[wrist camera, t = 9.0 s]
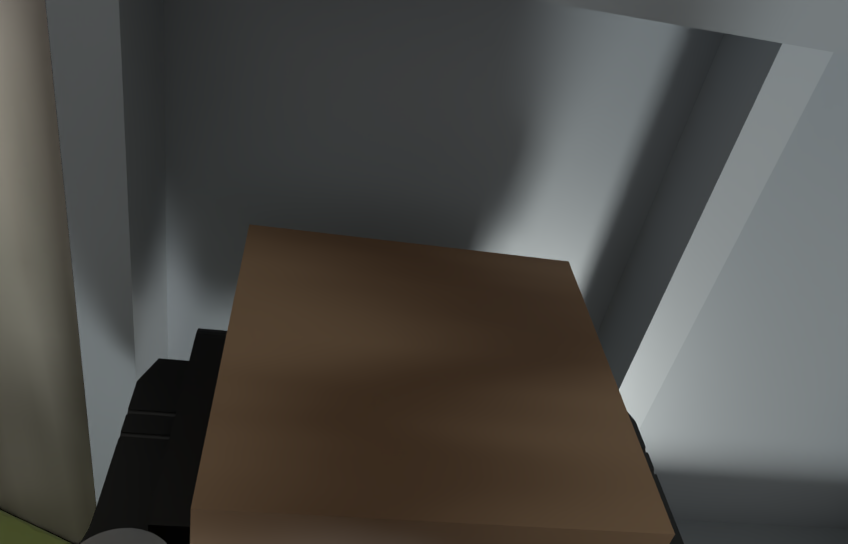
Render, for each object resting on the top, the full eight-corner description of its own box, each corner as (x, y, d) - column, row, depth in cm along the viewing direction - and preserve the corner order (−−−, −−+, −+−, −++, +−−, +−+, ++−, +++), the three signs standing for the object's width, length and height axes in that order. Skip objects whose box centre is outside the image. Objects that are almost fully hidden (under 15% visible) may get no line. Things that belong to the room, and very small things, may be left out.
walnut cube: (568, 261, 12) (675, 534, 8) (493, 465, 15) (544, 742, 11) (249, 224, 11) (191, 507, 7) (234, 448, 14) (187, 741, 10)
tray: (1258, 29, 14) (1477, 106, 11) (846, 523, 22) (914, 634, 19) (111, -203, 10) (28, -173, 8) (141, 483, 19) (107, 611, 16)
